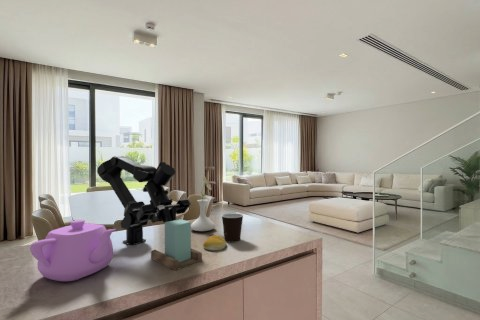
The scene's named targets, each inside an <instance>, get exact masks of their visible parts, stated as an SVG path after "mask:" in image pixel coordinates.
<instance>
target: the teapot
mask: <svg viewBox="0 0 480 320" xmlns="http://www.w3.org/2000/svg"><path fill="white" fill-rule="evenodd" d="M69 224H70V225H67V226H62V227H59V228H56V229H53V230H50V231H49V232H48V233H47V234H46V237H45V239H40V240H36V241H34V242H32V243H31V245H30V247H29V251H30V253H31V255H32V257H33V258H34V259H35V260H37V270H38V272H39V273H40V274H41V276H43V277H44V278H46V279H49V280H52V281H56V282H57V281H58V282H75V281H78V280H80V279H82V278H85V277H88V276H91V275H92V274H95V273H97V272H99V271H101V270H102V269H105V267H107V266H109V264H110V262H112V260H113V258H114V245H113V242H112V238H111V235H112V234H113V232H115V231H116V228H111V229H107V228H106V226H105V225H104V224H99V223H92V222H86V220H84V219H75V220H72V221H70V223H69Z"/></svg>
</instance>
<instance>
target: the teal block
mask: <svg viewBox="0 0 480 320" xmlns="http://www.w3.org/2000/svg"><path fill="white" fill-rule="evenodd" d="M191 224H192V222H191V221H188V220H185V219H182V218H179V219H178V218H177V219H176V220H173V221H168V222H165V223H164V253H165V254H166V255H168V256H170V257H172V258H174V259H176V260H178V261H179V262H182V261H185V260H188V259H190V258H191V249H192V242H191V241H192V239H191V238H192V234H191V233H192V231H191V230H192V229H191Z"/></svg>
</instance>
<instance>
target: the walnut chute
mask: <svg viewBox="0 0 480 320" xmlns="http://www.w3.org/2000/svg"><path fill="white" fill-rule="evenodd" d="M150 258H151V259H152V260H154V261H155V262H157V263H159V264H161V265H162V266H165V267H167V268H169V269H171V270H172V271H177V270H179V269H182V268H185V267H188V266H190V265H193V264H194V265H195V264H197V263H199V262H201V261H203V253H202V252H201V251H199V250H196V249H193V248H191V258H190V259H188V260H185V261H182V262H179V261H178V260H176V259H174V258H172V257H170V256H168V255H166V254H165V252H164V253H163V252H161V251H159V250H156V249H151V251H150Z"/></svg>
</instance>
